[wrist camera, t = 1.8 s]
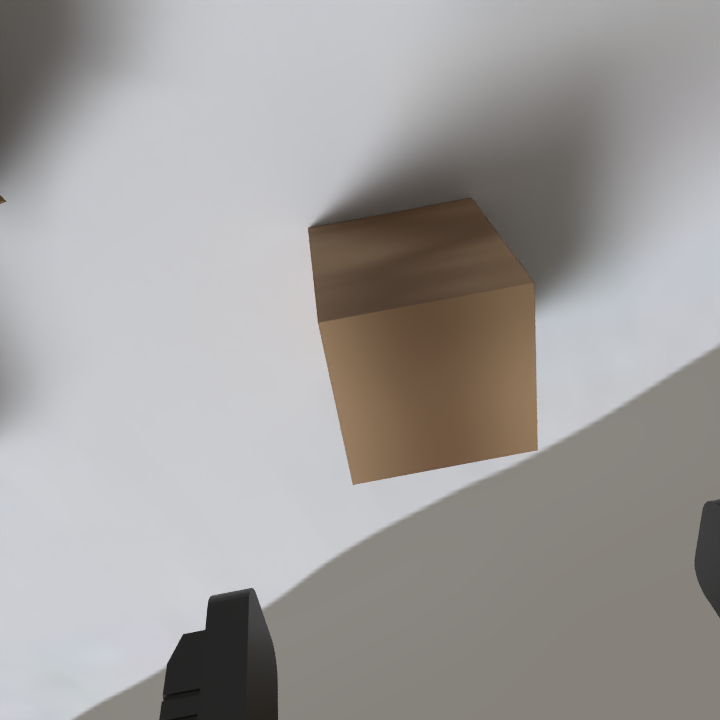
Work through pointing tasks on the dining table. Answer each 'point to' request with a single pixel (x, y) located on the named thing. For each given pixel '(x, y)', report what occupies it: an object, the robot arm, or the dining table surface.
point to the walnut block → (426, 339)
